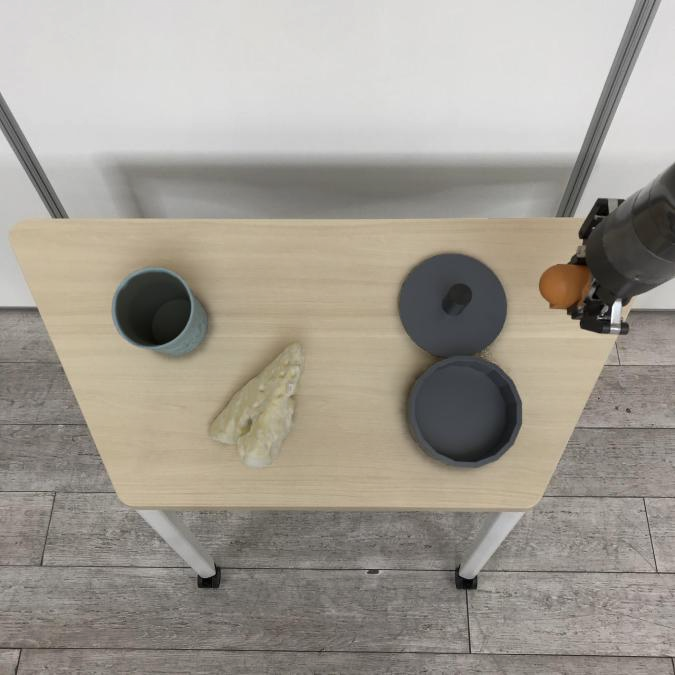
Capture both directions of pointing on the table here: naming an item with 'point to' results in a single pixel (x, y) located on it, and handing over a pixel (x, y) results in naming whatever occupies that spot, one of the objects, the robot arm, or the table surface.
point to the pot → (464, 411)
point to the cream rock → (262, 410)
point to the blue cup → (158, 312)
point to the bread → (563, 284)
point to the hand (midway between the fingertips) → (575, 290)
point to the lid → (453, 305)
